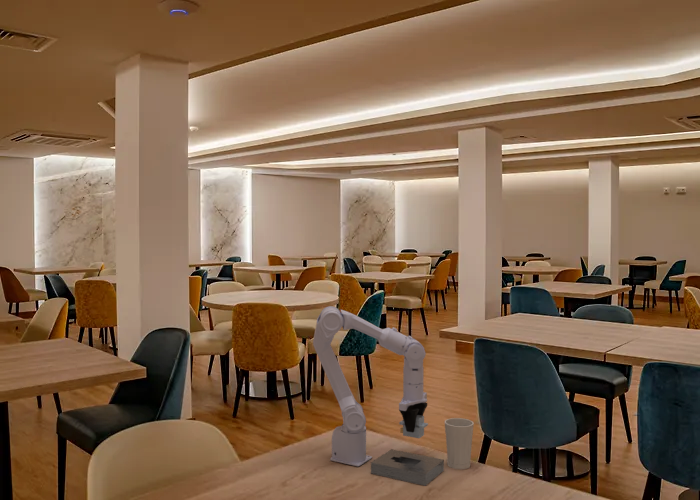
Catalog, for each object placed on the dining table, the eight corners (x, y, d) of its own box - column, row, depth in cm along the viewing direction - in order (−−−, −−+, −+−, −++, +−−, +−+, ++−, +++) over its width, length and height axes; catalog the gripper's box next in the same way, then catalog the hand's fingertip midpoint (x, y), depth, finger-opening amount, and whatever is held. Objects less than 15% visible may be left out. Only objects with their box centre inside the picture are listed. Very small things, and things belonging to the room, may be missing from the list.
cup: (473, 471, 170) (473, 427, 169) (443, 469, 171) (443, 425, 171) (473, 460, 178) (473, 418, 177) (445, 458, 179) (445, 417, 179)
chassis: (370, 473, 168) (370, 462, 168) (391, 459, 179) (391, 449, 179) (425, 485, 160) (425, 474, 160) (443, 470, 170) (443, 459, 170)
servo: (398, 434, 180) (398, 415, 179) (403, 431, 182) (403, 412, 182) (423, 439, 176) (423, 419, 175) (427, 435, 179) (428, 416, 178)
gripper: (415, 389, 170) (415, 439, 171) (436, 379, 183) (436, 425, 183) (392, 386, 174) (392, 434, 174) (414, 376, 186) (414, 421, 187)
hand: (413, 429), depth 179 cm, fingers closed on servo, 3 cm apart
